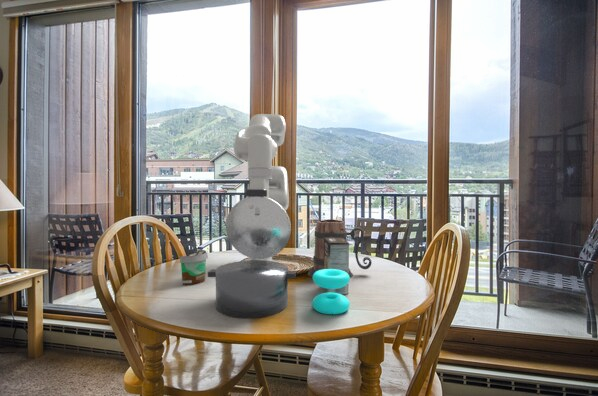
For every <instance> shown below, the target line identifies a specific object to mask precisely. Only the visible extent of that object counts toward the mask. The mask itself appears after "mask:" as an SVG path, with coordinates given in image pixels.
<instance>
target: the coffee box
mask: <svg viewBox="0 0 598 396" xmlns="http://www.w3.org/2000/svg"><path fill="white" fill-rule="evenodd" d="M349 261H350V242H349V241H347V239H346V240H345V239H343V238H324V269H337V270H342V271H344V272H346V273H347V274H348V275H349V269H350V267H349V266H350V263H349ZM325 289H326V292H327V293H328V292H332V293H338V294H341V295H349V283H348V284H347V285H346V286H344V287H342V288H338V289H327V288H325Z"/></svg>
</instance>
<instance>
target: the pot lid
mask: <svg viewBox="0 0 598 396" xmlns="http://www.w3.org/2000/svg"><path fill="white" fill-rule="evenodd" d="M245 191H246V196H247V198H246V197H245V198H242V199H240V200H239V201H237V203H235V204H234V205H233V206H232V207H231V208H230V211H229V212H228V214H227V216H226V220H225V233H226V236H227V239H228V241H229V242H230V245H232V247H233V248H234V249H235V250H236V251H237V252H238V253H240V254H241V255H242V256H245V257H247V258H249V257H250V258H254V259H265V258H270V257H272V258H273V257H274V256H276V255H278V254H279V253H281V252H282V250H284V249H285V247H286V246H287V245H288V242H289V239H290V237H291V232H292V226H291V225H292V224H291V220H290V217H289V215H288V212H287V210H285V209H284V208H283V207H282V206H281V205H280V204H279V203H278V202H276V201H274V200H273V199H270V198H268V197H267V189H249V188H248V189H246V190H245ZM253 204H254V205H253ZM251 205H253V208H252V209H250V208H249V207H250V206H251ZM255 207H258V208H259V215H255Z"/></svg>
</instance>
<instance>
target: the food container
mask: <svg viewBox="0 0 598 396" xmlns="http://www.w3.org/2000/svg"><path fill="white" fill-rule="evenodd" d="M207 259H209V256H208V252H207V250H205V249H199V248H198V249H197V251H196V252H194V253H189V254H188V255H184V256H183V255H181V256H180V257H179V263H180V268H181V269H180V270H181V279H182V280H181V281H182V286H194V285H199V284H202V283H204V282H205V281H206V269H207Z"/></svg>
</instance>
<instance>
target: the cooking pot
mask: <svg viewBox="0 0 598 396" xmlns="http://www.w3.org/2000/svg"><path fill="white" fill-rule="evenodd" d="M248 260H249V259H248ZM207 277H208V278H215V308H216V311H217V312H218V313H219V314H222V315H223V316H227V317H230V318H236V319H258V318H265V317H270V316H273V315H277V314H279V313H281V312H282V311H284V310H285V309H286V308H287V307H288V305H289V304H288V303H289V302H288V301H289V280H295V279H296V277H297V271H296V270H289V268H288V266H287V265H286V264H284V263H281V262H278V261H276V262H274V261H264V260H249V261H247V260H240V261H234V262H228V263H226V264H223V265H220V266H218V267H217V268H211V269H210V270H209V271H208V272H207Z"/></svg>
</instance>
